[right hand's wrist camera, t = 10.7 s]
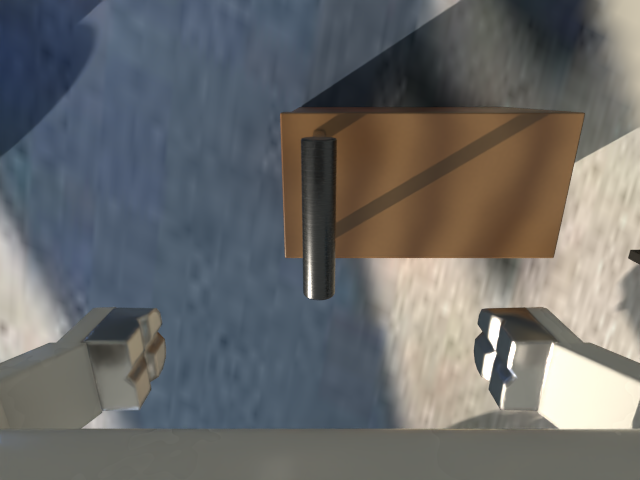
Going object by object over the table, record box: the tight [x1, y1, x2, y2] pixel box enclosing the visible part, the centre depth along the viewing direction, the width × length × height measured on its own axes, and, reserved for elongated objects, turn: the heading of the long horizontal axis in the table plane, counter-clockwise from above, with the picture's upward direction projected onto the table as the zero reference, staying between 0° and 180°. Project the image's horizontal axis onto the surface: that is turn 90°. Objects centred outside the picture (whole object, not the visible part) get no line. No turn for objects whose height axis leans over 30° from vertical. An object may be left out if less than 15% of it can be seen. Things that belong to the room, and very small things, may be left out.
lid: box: [280, 112, 585, 300], centre depth 22 cm, size 18×9×9 cm, turn 90°
